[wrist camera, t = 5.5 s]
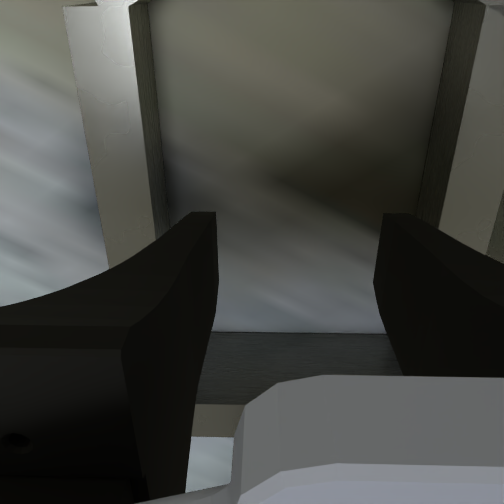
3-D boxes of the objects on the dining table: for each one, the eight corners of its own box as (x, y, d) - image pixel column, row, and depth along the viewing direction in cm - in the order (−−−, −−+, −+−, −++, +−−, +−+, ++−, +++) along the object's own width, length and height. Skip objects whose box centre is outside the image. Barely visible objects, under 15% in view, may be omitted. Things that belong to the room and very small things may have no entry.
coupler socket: (618, -227, 10) (770, -317, 7) (454, 365, 18) (491, 442, 15) (10, -217, 10) (-97, -301, 7) (119, 360, 19) (90, 434, 16)
